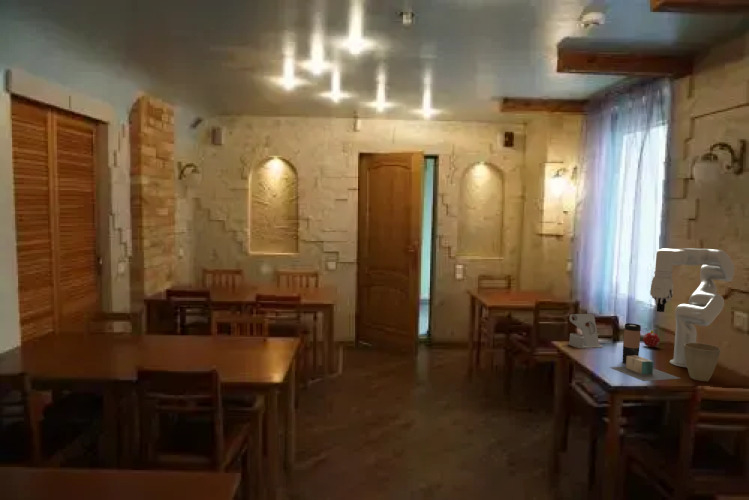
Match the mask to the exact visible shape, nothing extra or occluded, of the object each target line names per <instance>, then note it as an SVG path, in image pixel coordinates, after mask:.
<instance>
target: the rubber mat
mask: <svg viewBox="0 0 749 500" xmlns="http://www.w3.org/2000/svg"><path fill="white" fill-rule="evenodd" d="M609 369H612V370H615V371H617V372H620V373H622V374H624V375H627V376H629V377H632V378H635V379H637V380H640V381H642V382H650V381H652V382H653V381H664V380H665V381H666V380H678V379H681V377H679V376H675V375H673V374H670V373H667V372H665V371H662V370H659V369H657V368H654V367H653V374H640V373H638V372H635V371H633V370H630V369H627V368H626V366H613V367H612V366H611V367H609Z"/></svg>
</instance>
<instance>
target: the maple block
mask: <svg viewBox="0 0 749 500" xmlns="http://www.w3.org/2000/svg"><path fill="white" fill-rule="evenodd" d="M625 367H626V368H627V369H630V370H633V371H635V372H638V373H640V374H653V368H654V361H653V360H651V359H648V358H645V357H642V356H637V355H634V356H627V357H626V364H625Z"/></svg>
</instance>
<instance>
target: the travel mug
mask: <svg viewBox="0 0 749 500" xmlns="http://www.w3.org/2000/svg"><path fill="white" fill-rule="evenodd" d="M641 329H642V325H641V324H637V323H630V322H629V323H627V322H626V323H625V324H624V330H623V341H622V342H623V344H622V345H623V346H622V363H623V364H625V365H626V357H627V356H634V355H637V356H639V355H640V354H639V353H640V343H641V332H642V331H641ZM639 357H640V356H639Z"/></svg>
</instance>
